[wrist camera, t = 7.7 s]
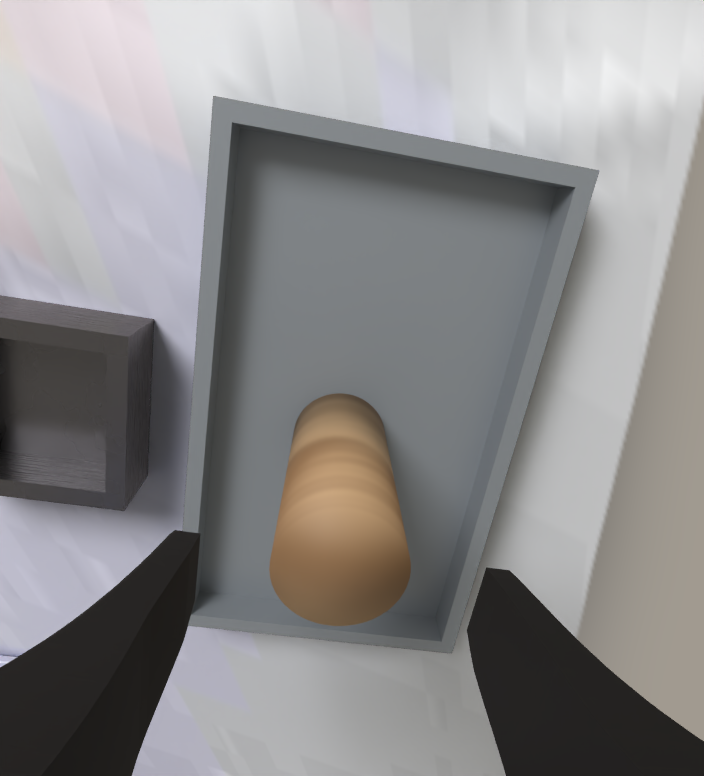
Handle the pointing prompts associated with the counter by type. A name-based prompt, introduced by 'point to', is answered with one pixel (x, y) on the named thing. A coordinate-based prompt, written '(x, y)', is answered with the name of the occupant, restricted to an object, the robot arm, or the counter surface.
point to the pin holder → (73, 403)
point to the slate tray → (366, 343)
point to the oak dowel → (339, 518)
